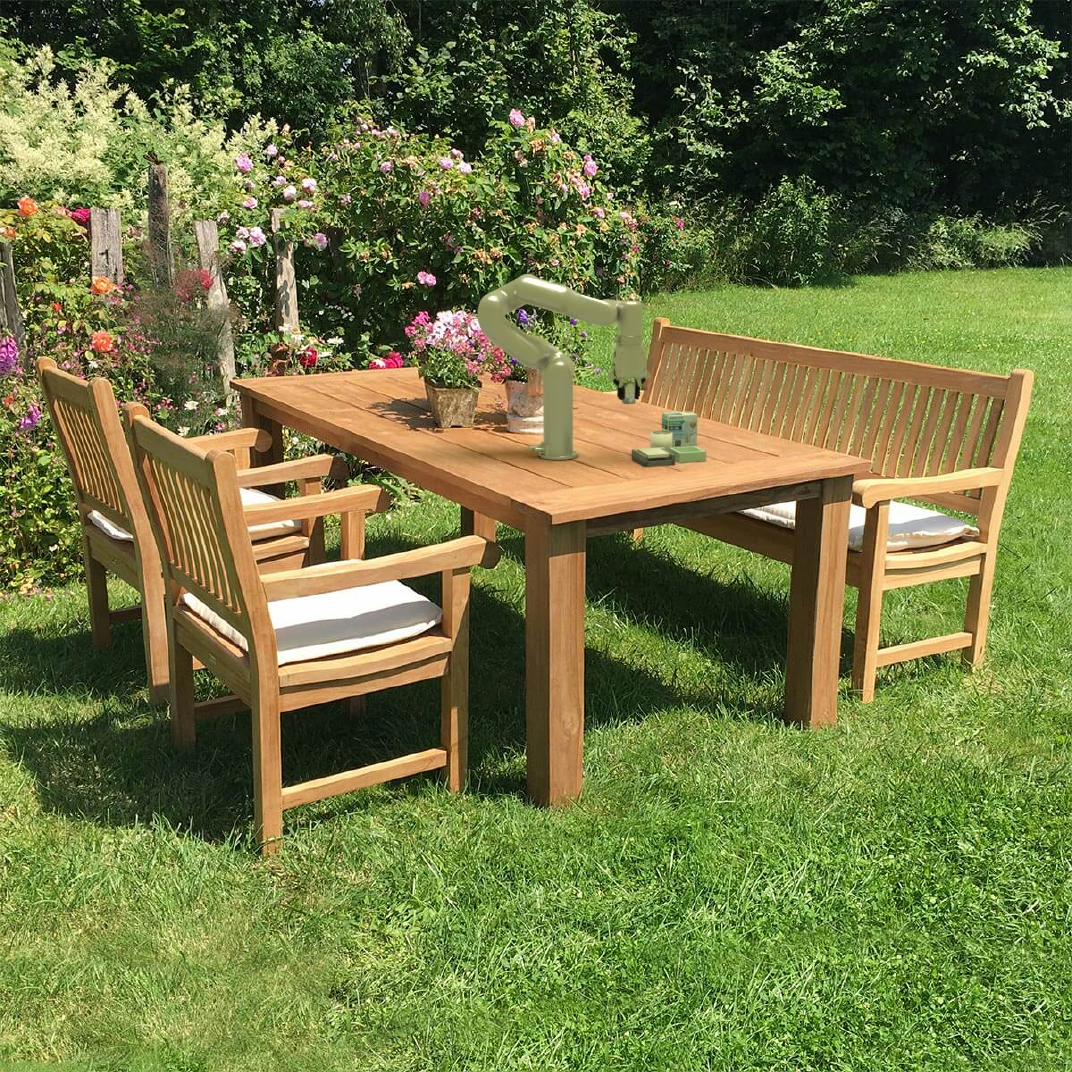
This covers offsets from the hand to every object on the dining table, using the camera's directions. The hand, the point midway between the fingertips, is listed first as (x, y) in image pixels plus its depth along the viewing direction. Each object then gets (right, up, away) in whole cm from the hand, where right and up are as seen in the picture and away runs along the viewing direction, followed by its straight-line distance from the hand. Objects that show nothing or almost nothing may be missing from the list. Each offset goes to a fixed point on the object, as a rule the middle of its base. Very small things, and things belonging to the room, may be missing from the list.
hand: (628, 398), depth 379 cm
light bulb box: (+19, -13, +24) cm, 33 cm away
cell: (0, -1, 0) cm, 1 cm away
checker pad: (+7, -18, -3) cm, 20 cm away
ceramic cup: (+11, -17, +10) cm, 23 cm away
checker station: (+8, -20, -2) cm, 22 cm away
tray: (+19, -19, +2) cm, 27 cm away
